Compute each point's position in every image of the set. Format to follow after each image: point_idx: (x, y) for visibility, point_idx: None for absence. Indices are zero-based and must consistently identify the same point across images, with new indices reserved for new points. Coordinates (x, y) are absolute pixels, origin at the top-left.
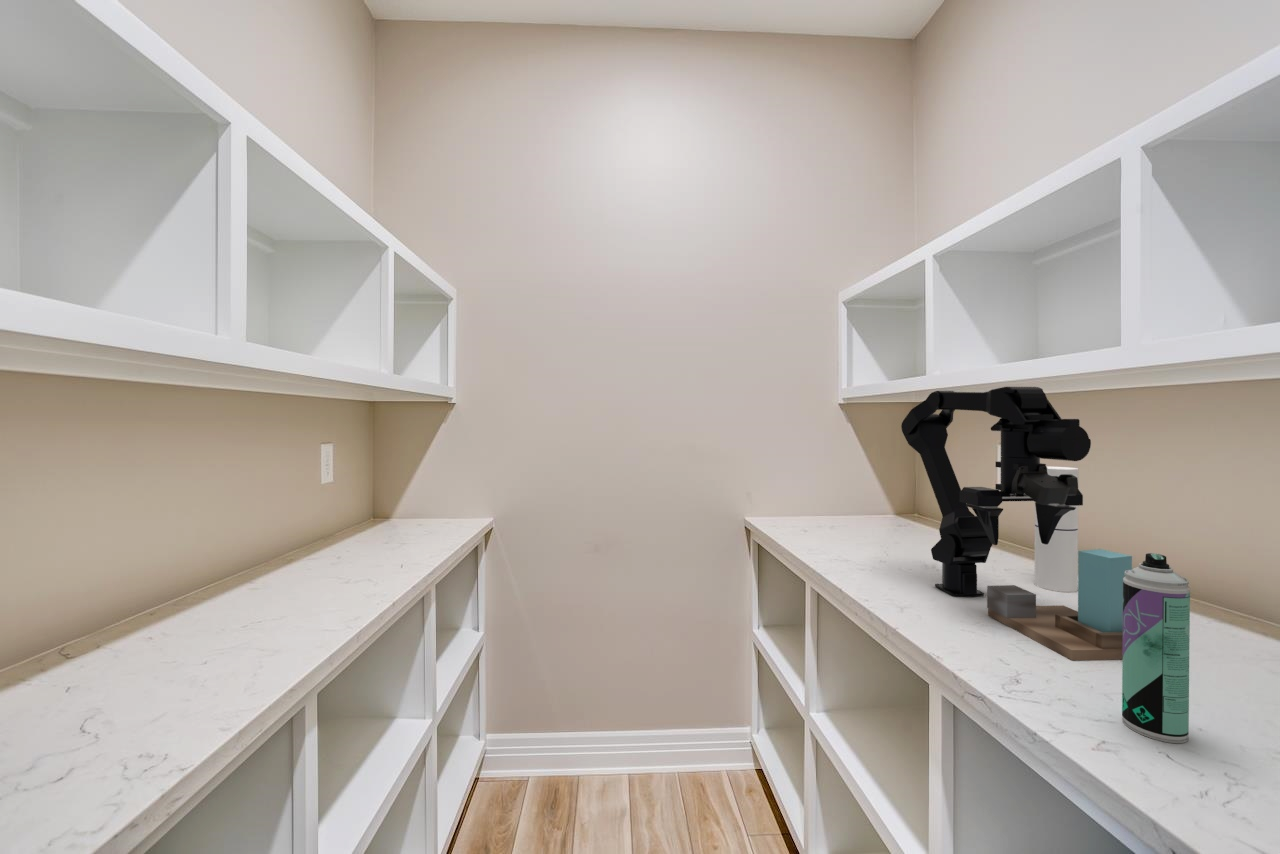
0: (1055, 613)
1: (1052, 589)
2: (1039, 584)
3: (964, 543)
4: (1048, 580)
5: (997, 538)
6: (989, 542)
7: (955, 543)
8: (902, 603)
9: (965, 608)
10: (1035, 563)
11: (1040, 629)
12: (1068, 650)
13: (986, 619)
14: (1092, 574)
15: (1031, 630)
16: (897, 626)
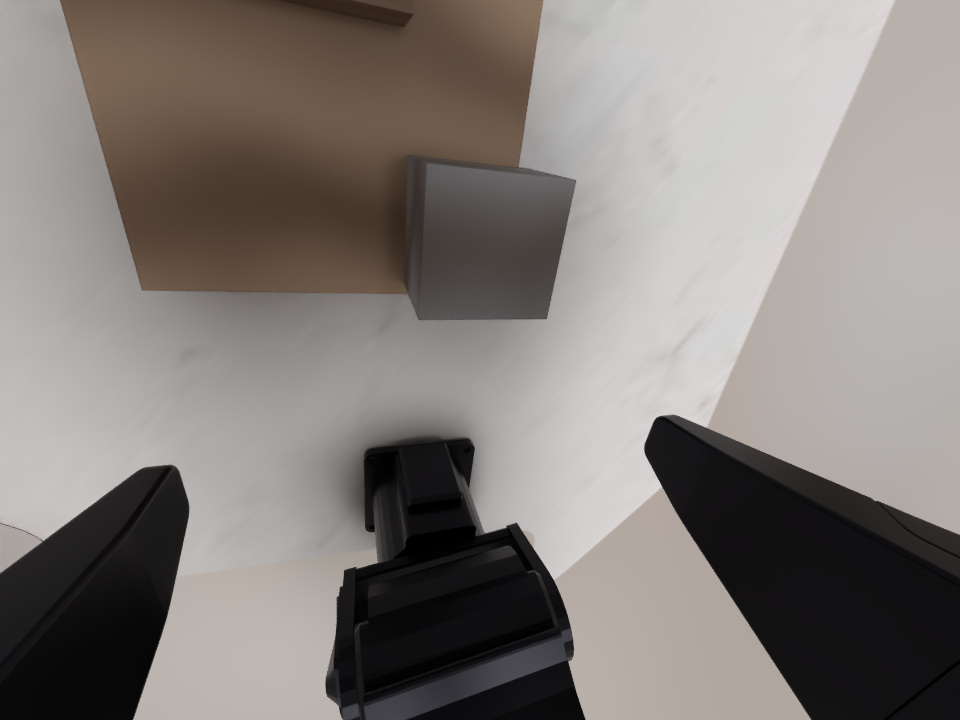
0: (268, 193)
1: (12, 531)
2: None
3: (536, 593)
4: (4, 569)
5: (714, 440)
6: (378, 642)
7: (558, 596)
8: (645, 384)
9: (511, 346)
10: None
11: (504, 7)
12: None
13: None
14: None
15: (537, 22)
16: (795, 222)
